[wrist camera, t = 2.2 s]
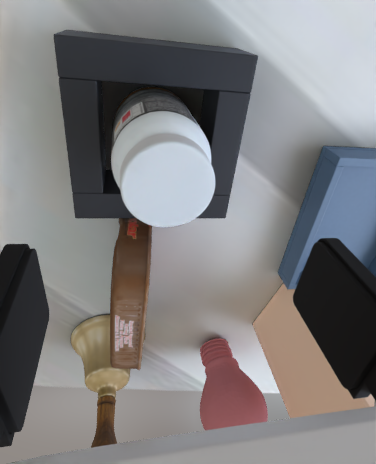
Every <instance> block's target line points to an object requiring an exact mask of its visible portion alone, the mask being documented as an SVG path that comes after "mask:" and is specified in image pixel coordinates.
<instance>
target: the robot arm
mask: <svg viewBox="0 0 376 464" xmlns="http://www.w3.org/2000/svg"><path fill="white" fill-rule="evenodd" d="M293 303H294V305H295V307H296V309H297V310H298V312H299V314H300V315H301V317H302V319H303V320H304V322H305V324H306V325H307V327H308V329H309V331H310V332H311V334H312V336H313V337H314V339H315V341H316V342H317V344H318V346H319V347H320V349H321V351H322V353H323V354H324V356H325V358H326V359H327V361H328V363H329V364H330V366H331V368H332V369H333V371H334V373H335V375H336V376H337V378H338V380H339V381H340V383H341V385H342V386H343V387H344V388H345V389H348V391H349V392H350V394H351V396H352V397H353V399H357V398H365V397H368V396H369V395H370V394H371V395H372V396H373V398H374V399H375V402H374V407H367V408H360V409H352V410H345V411H338V412H331V413H323V414H316V415H309V416H302V417H295V418H288V419H281V420H274V421H267V422H260V423H253V424H246V425H239V426H232V427H225V428H218V429H212V430H205V431H198V432H191V433H185V434H178V435H171V436H164V437H158V438H151V439H145V440H138V441H131V442H124V443H118V444H111V445H105V446H99V447H93V448H87V449H81V450H76V451H69V452H63V453H58V454H51V455H45V456H40V457H36V458H32V459H27V460H22V461H18V462H13V463H8V464H376V277H375V276H374V275H373V274H372V273H371V272H370V271H369V270H368V269H367V268H366V267H365V266H364V265H363V264H362V262H361V261H360V260H359V259H358V258H357V257H356V256H355V255H354V254H353V253H352V252H351V251H350V250H349V249H348V248H347V247H346V246H345V245H344V244H343V243H342V242H341V241H340V240H339V239H338V238H321V239H319V240H318V241H317V242H316V243H315V244H314V245H313V247H312V250H311V252H310V255H309V257H308V259H307V262H306V264H305V267H304V269H303V272H302V274H301V277H300V279H299V282H298V284H297V287H296V289H295V292H294V294H293ZM48 321H49V307H48V303H47V298H46V294H45V289H44V284H43V280H42V275H41V271H40V266H39V261H38V257H37V252H36V250H35V249H30V248H29V246H28V244H7V245H5V246H4V248H3V250H2V252H1V254H0V447H5V446H11V445H12V440H13V437H14V433H15V432H19V431H21V430H22V427H23V424H24V420H25V416H26V412H27V408H28V403H29V400H30V396H31V391H32V387H33V383H34V379H35V375H36V371H37V367H38V362H39V358H40V354H41V350H42V346H43V342H44V338H45V333H46V329H47V325H48Z"/></svg>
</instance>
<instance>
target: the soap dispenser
mask: <svg viewBox="0 0 376 464" xmlns="http://www.w3.org/2000/svg"><path fill="white" fill-rule="evenodd" d="M294 292H295V289H287V288H286V286H285V284H284V283H283V284H282V285H281V287H280V288H279V289H278V291H277V292H276V293H275V295H274V296H273V297H272V299H271V300H270V301H269V303H268V304H267V305H266V307H265V308H264V309H263V311H262V312H261V313H260V315H259V316H258V317H257V318H256V320H255V321H254V322H253V327H254V329H255V332H256V334H257V337H258V339H259V342H260V344H261V347H262V349H263V352H264V354H265V357H266V359H267V362H268V364H269V367H270V369H271V371H272V374H273V376H274V379H275V381H276V384H277V386H278V389H279V391H280V394H281V396H282V399H283V401H284V404H285V406H286V409H287V411H288V414H289V416H290V418H295V417H302V416H309V415H316V414H323V413H331V412H338V411H345V410H352V409H360V408H367V407H374V402H375V399H374V398H373V396H372V395H371V394H370V395H369V396H368V397H365V398H357V399H353V397H352V396H351V394H350V392H349V391H348V389H345V388H344V387H343V386H342V385H341V383H340V381H339V380H338V378H337V376H336V375H335V373H334V371H333V369H332V368H331V366H330V364H329V363H328V361H327V359H326V358H325V356H324V354H323V353H322V351H321V349H320V347H319V346H318V344H317V342H316V341H315V339H314V337H313V336H312V334H311V332H310V331H309V329H308V327H307V325H306V324H305V322H304V320H303V319H302V317H301V315H300V314H299V312H298V310H297V309H296V307H295V305H294V303H293V294H294Z"/></svg>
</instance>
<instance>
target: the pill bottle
mask: <svg viewBox="0 0 376 464" xmlns="http://www.w3.org/2000/svg"><path fill="white" fill-rule="evenodd" d="M111 150H112V151H111V166H112V172H113V175H114V179H115V181H116V183H117V185H118V187H119V188H120V191H121V196H122V199H123V202H124V204H125V206H126V207H127V209H128V210H129V211H130V212H131V214H132V215H133V216H135V217H136V218H137V219H139V220H140V221H142V222H144V223H146V224H148V225H151V226H156V227H175V226H180V225H183V224H186V223H188V222H190V221H192V220H194V219H195V218H197V217H198V216H199V215H200V214H201V213H202V212H203V211H204V210H205V209H206V208H207V206H208V205H209V203H210V201H211V199H212V197H213V194H214V190H215V174H214V170H213V168H212V165H211V150H210V146H209V142H208V140H207V138H206V136H205V134H204V132H203V131H202V129H201V128H200V126H199V125H198V123H197V122H196V120H195V119H194V118H193V116H192V115H191V113H190V111H189V110H188V108H187V107H186V105H185V104H184V103H183V102H182V100H181V99H180V98H179V97H178V96H176V95H175V94H174V93H172V92H170V91H169V90H166V89H164V88H160V87H151V86H150V87H143V88H140V89H137V90H134V91H133V92H131V93H129V94H128V95H127V96H126V97H125V98H124V99H123V100H122V101H121V103H120V104H119V106H118V107H117V110H116V112H115V115H114V119H113V127H112V149H111Z"/></svg>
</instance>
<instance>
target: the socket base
mask: <svg viewBox="0 0 376 464" xmlns="http://www.w3.org/2000/svg"><path fill="white" fill-rule="evenodd" d="M54 43H55V52H56V60H57V68H58V76H59V77H60V78H59V85H60V93H61V101H62V110H63V118H64V126H65V135H66V143H67V151H68V160H69V168H70V176H71V185H72V192H73V202H74V210H75V218H136V217H135V216H133V215H132V214H131V212H130V211H129V210H128V209H127V207H126V206H125V204H124V202H123V199H122V196H121V191H120V188H119V187H118V185H117V183H116V181H115V179H114V175H113V172H112V170H106V157H105V136H104V116H103V96H102V81H109V82H122V83H134V84H146V85H158V86H171V87H183V88H195V89H204V96H203V104H202V112H201V120H200V128H201V129H202V131H203V132H204V134H205V136H206V138H207V140H208V142H209V146H210V150H211V165H212V168H213V170H214V174H215V190H214V194H213V197H212V199H211V201H210V203H209V205H208V206H207V208H206V209H205V210H204V211H203V212H202V213H201V214H200V215H199V216H198V217H197V218H225V217H226V213H227V208H228V203H229V198H230V193H231V188H232V183H233V178H234V173H235V168H236V163H237V158H238V153H239V148H240V143H241V138H242V134H243V129H244V124H245V119H246V114H247V109H248V104H249V99H250V92H251V89H252V84H253V79H254V74H255V69H256V64H257V59H258V56H257V55H254V54H251V53H249V52H246V51H243V50H240V49H237V48H228V47H219V46H210V45H201V44H192V43H183V42H174V41H165V40H156V39H146V38H137V37H128V36H119V35H110V34H101V33H92V32H83V31H74V30H65V31H62V32H59V33H56V34H54Z"/></svg>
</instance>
